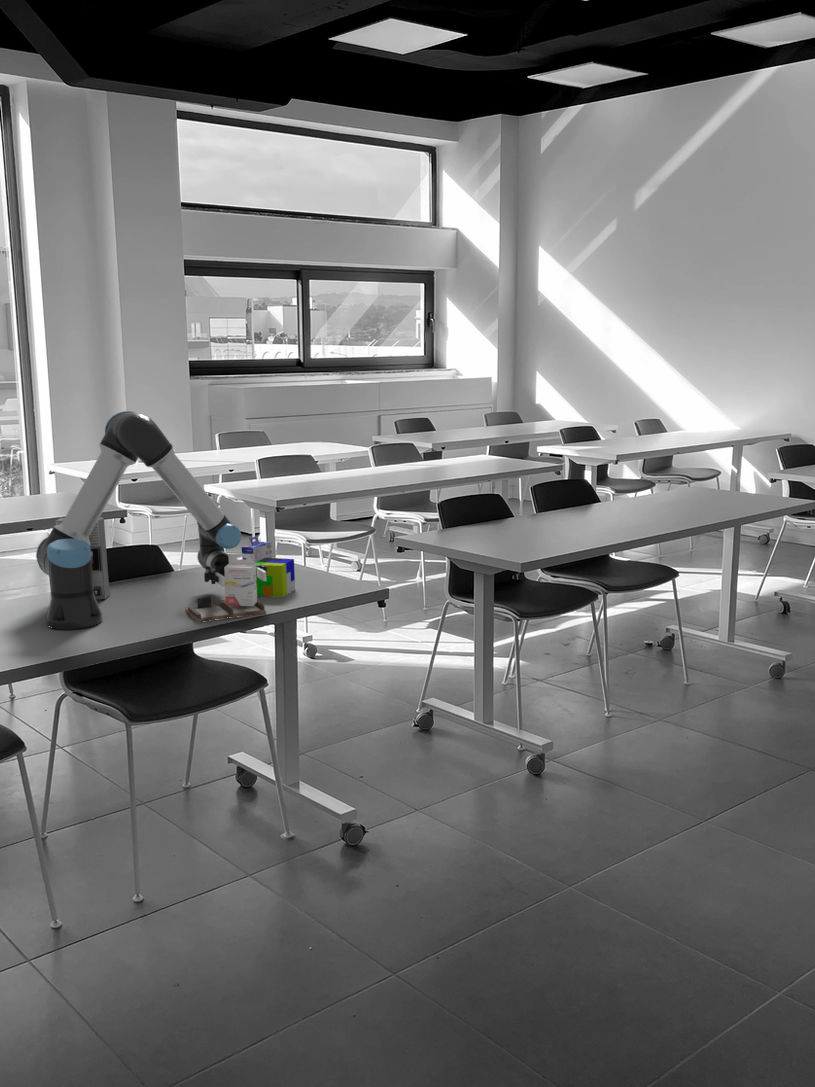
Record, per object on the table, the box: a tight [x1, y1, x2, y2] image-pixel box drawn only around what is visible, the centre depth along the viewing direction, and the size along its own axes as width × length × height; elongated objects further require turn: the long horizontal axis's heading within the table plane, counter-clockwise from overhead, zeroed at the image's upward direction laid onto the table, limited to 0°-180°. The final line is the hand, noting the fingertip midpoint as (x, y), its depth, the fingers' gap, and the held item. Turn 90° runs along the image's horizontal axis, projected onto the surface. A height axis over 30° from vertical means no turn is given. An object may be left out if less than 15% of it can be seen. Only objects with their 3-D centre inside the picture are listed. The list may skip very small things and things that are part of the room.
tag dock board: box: [184, 596, 267, 623], centre depth 310 cm, size 20×14×4 cm
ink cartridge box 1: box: [224, 553, 258, 606], centre depth 310 cm, size 9×5×15 cm, turn 84°
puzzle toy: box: [255, 557, 296, 598], centre depth 333 cm, size 10×10×10 cm
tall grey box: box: [54, 517, 111, 600], centre depth 327 cm, size 14×6×25 cm, turn 90°
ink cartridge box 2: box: [241, 536, 274, 563], centre depth 348 cm, size 10×6×14 cm, turn 148°
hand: (244, 579), depth 306 cm, fingers open, 12 cm apart
